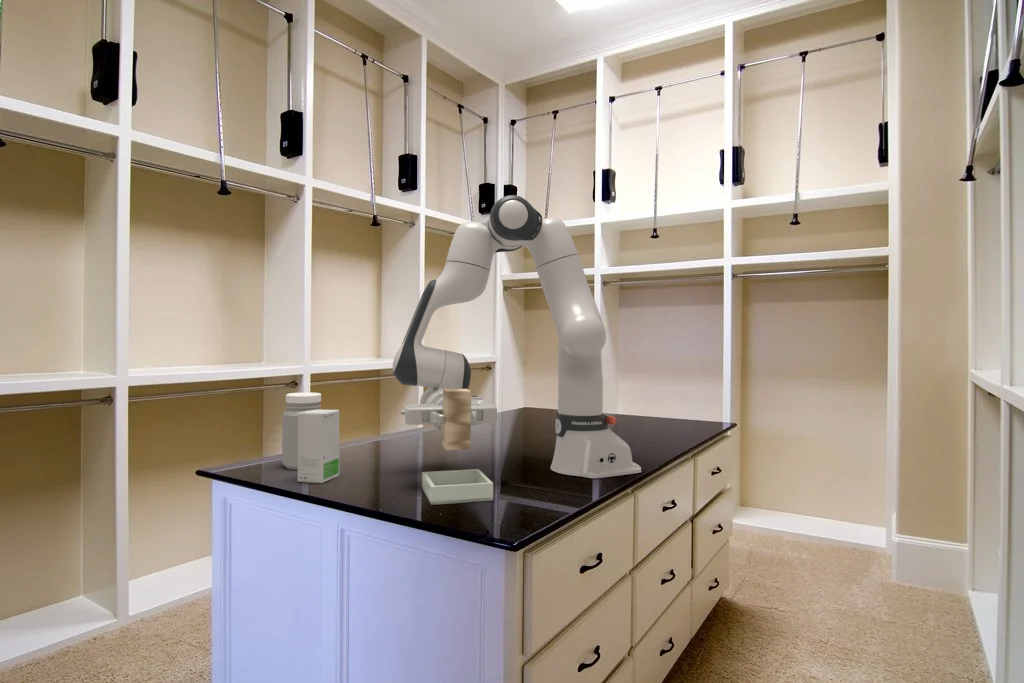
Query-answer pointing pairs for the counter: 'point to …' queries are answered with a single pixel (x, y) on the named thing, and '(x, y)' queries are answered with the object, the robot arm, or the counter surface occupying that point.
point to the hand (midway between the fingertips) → (457, 419)
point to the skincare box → (318, 445)
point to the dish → (456, 486)
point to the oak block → (456, 419)
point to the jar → (295, 424)
